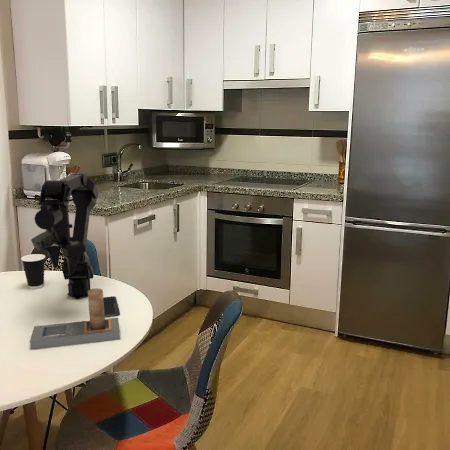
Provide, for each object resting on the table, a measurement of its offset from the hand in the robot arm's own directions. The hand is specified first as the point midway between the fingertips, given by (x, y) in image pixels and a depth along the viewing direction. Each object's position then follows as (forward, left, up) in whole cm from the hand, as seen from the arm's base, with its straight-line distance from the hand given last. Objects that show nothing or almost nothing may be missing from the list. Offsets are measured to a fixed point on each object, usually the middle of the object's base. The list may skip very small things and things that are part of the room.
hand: (63, 270), depth 148 cm
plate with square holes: (+8, +19, -13) cm, 24 cm away
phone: (-9, +8, -14) cm, 18 cm away
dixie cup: (-4, -27, -13) cm, 30 cm away
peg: (+3, +22, -13) cm, 26 cm away
